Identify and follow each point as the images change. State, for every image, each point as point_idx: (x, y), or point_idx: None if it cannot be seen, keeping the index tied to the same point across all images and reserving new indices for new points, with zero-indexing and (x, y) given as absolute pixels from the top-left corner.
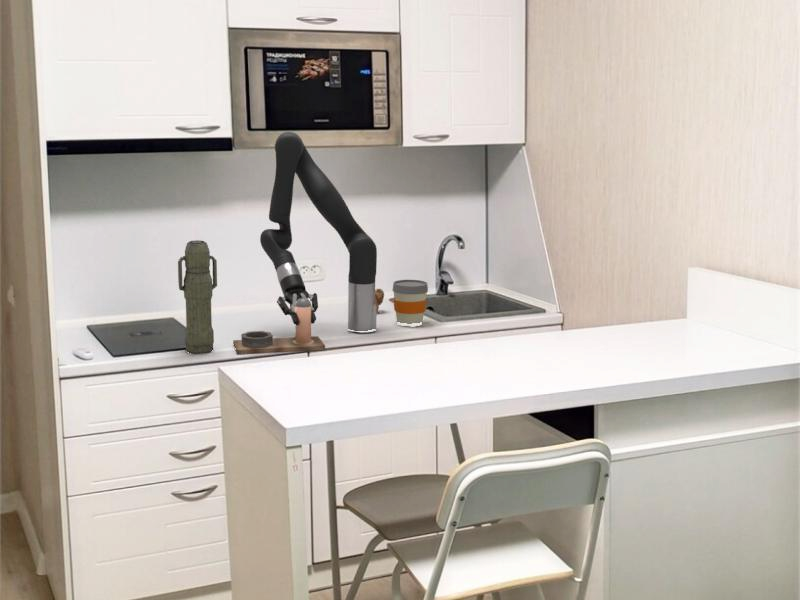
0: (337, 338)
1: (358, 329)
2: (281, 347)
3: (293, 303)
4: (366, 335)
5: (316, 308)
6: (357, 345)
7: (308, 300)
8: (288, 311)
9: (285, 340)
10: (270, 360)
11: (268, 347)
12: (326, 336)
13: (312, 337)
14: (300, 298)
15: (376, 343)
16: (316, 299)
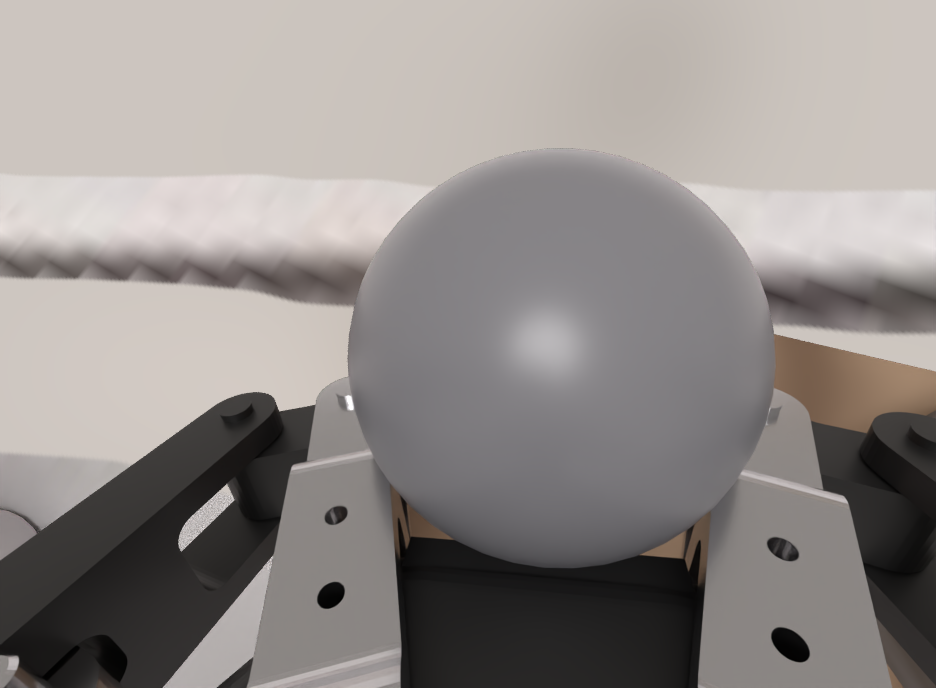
0: (222, 503)
1: (6, 543)
2: (786, 342)
3: (816, 516)
4: (36, 473)
5: (266, 401)
6: (230, 283)
7: (423, 202)
8: (887, 426)
9: (670, 541)
10: (918, 192)
11: (906, 391)
12: (249, 605)
13: (413, 510)
14: (656, 337)
15: (122, 276)
16: (34, 553)
